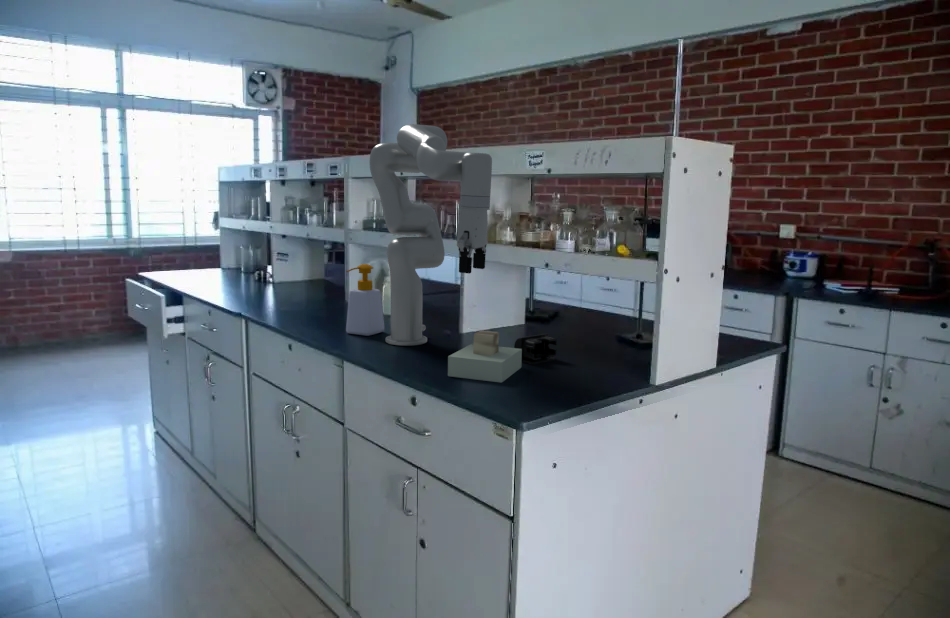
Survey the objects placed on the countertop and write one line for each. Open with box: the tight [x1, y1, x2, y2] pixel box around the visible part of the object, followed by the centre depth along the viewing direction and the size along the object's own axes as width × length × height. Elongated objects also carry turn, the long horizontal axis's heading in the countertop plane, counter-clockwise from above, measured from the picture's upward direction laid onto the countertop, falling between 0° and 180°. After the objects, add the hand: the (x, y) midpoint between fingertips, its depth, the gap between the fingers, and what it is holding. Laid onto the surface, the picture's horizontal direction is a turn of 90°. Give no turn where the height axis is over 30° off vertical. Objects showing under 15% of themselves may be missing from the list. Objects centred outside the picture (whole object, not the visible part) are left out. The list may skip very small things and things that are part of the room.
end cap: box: [513, 333, 558, 366], centre depth 184 cm, size 10×7×7 cm
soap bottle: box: [345, 263, 385, 337], centre depth 212 cm, size 10×14×22 cm
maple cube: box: [472, 330, 500, 355], centre depth 169 cm, size 5×5×5 cm
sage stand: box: [447, 343, 522, 383], centre depth 170 cm, size 16×14×5 cm
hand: (472, 270), depth 172 cm, fingers open, 9 cm apart
